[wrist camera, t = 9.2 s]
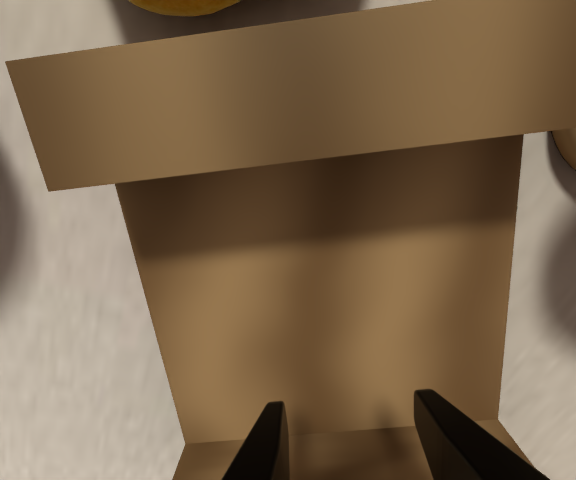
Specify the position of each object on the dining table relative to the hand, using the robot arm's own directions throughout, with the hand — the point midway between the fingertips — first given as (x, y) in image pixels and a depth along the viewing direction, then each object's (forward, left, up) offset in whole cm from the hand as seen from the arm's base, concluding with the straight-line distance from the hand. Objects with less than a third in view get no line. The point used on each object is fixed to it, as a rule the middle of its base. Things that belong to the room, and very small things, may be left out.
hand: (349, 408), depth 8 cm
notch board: (0, 0, -6) cm, 6 cm away
